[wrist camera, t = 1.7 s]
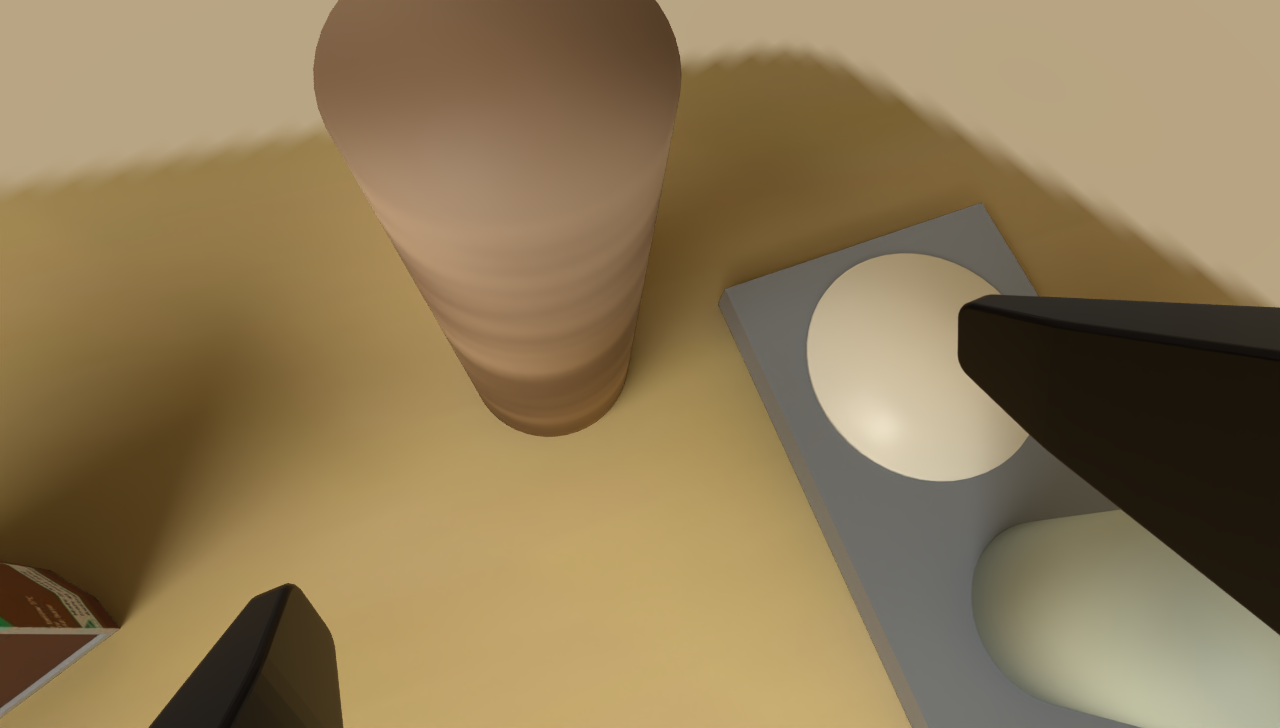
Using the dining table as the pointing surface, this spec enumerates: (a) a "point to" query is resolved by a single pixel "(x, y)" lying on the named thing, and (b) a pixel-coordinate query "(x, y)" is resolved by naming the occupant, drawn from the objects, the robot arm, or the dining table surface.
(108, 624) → the food container
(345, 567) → the dining table surface
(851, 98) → the dining table surface
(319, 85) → the walnut post
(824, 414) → the slate board
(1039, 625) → the sage posts
